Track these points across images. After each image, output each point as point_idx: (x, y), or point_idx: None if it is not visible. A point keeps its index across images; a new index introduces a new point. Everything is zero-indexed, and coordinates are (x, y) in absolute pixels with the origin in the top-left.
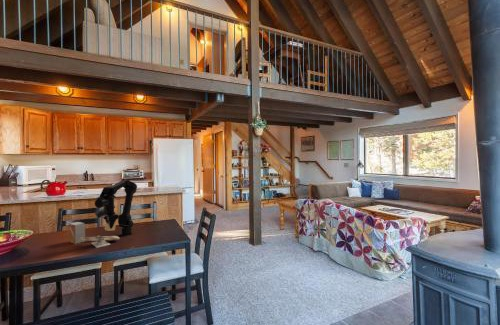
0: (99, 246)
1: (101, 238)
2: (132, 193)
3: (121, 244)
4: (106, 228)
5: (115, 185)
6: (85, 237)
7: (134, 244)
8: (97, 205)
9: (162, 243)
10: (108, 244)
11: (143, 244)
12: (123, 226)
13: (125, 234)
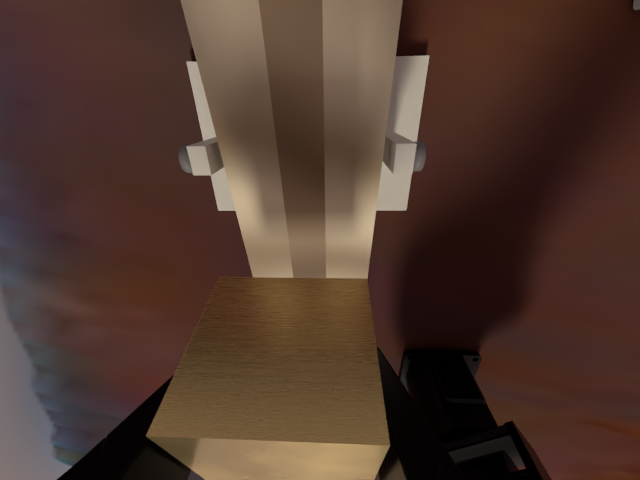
0: (194, 97)
1: (235, 151)
2: None
3: (174, 271)
4: (252, 305)
5: None
6: None
7: (120, 325)
8: None
9: (62, 409)
10: (216, 193)
11: (90, 355)
12: (464, 440)
13: (413, 368)
